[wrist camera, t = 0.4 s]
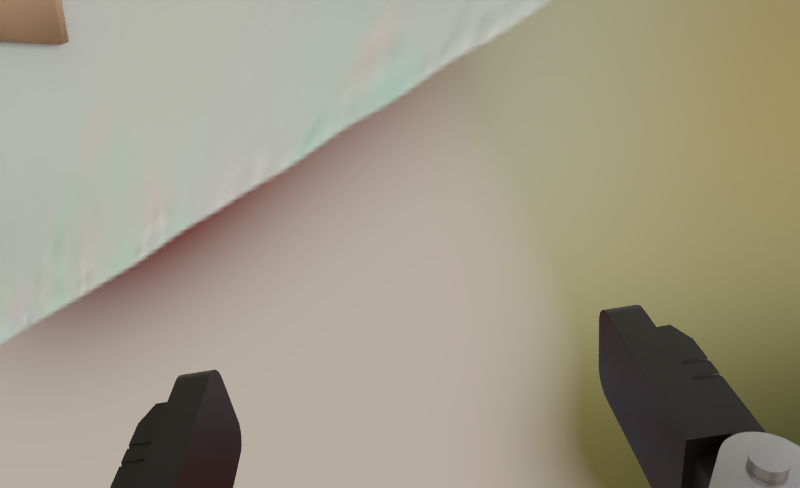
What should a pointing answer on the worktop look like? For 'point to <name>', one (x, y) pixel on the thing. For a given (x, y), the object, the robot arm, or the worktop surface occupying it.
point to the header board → (32, 21)
